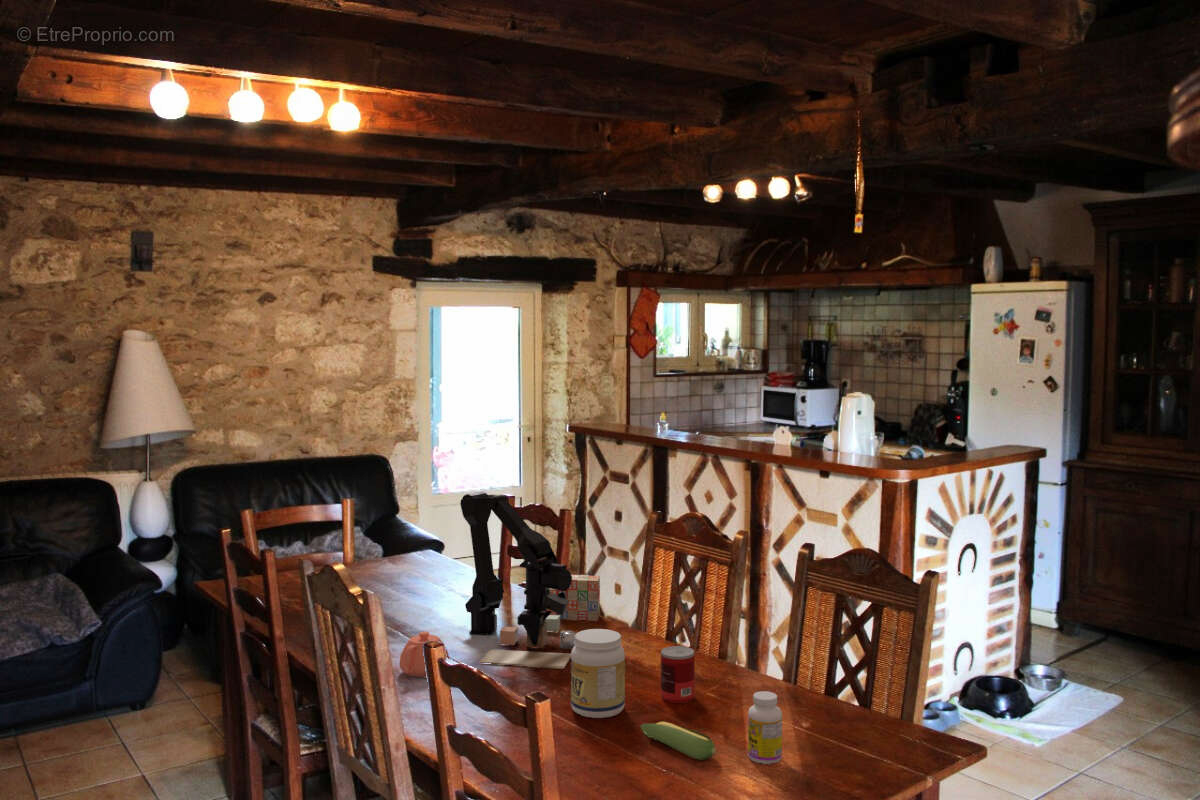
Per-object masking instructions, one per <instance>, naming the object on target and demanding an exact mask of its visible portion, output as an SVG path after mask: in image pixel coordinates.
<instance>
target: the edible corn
mask: <svg viewBox="0 0 1200 800" xmlns="http://www.w3.org/2000/svg"><path fill="white" fill-rule="evenodd" d="M639 727H640V728H641V731H642V732H643V734H645V735H646V736H647V737H648V738H650V737H652V738H655V739H654V741H658V740H659V741H658V742H660V743H662V744H664V745H666V746H668V747H670V748H672V749H673V750H675V751H677V752H679V751H680V752H679V753H681V752H682V753H681V754H683V753H684V754H683V755H685V754H686V755H685V756H687V755H688V756H687V757H689V756H690V757H689V758H691V757H693V758H692V759H694V758H695V759H694V760H696V759H699V760H698V761H705V760H708V759H710V758H712V757H713V756H714V755H715V754H716V753H717V749H716V745H715V744H714V742H713V740H712V739H711V738H710V737H709V736H708V735H706V734H704V733H701V732H699V731H696V730H693V729H690V728H686V727H684V726H680V725H676V724H674V723H671V722H666V721H659V722H657V723H643V724H641V725H640V726H639ZM652 738H651V739H652ZM656 739H657V740H656Z"/></svg>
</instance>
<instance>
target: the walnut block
mask: <svg viewBox="0 0 1200 800" xmlns="http://www.w3.org/2000/svg"><path fill="white" fill-rule="evenodd" d="M547 639H548V633H547V622H544V623H543V624H542V625H541V626H540V628H539V635H538V641H537V645H533V644H532V642H531V640H530V638H529V636H528V634H527V633H526V648H527V647H539V648H543V647H544V646H545V644H546V643H548V640H547ZM546 645H547V644H546ZM545 647H546V646H545ZM545 647H544V648H545ZM544 648H543V649H544Z"/></svg>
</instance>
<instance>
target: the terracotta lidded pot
mask: <svg viewBox="0 0 1200 800" xmlns="http://www.w3.org/2000/svg"><path fill="white" fill-rule="evenodd" d="M418 634H419V635H417V634H416V635H414V636H412V637H410V638H408V641H407V642H406V644H405V646H404V647H403V649H402V651H401V653H400V658H399V668H400V669H401V670H402V671H403V672H404V673H405V674H406V676H409V675H410V676H411V677H418V678H423V679H427V678H426V671H425V662H424V656H423V644H424V643H425V642H427V641H439V642H441V643H443V641H442V640H441V638H440V637H439V636H438V635H435V634H430V632H429V631H421V632H419V633H418ZM443 644H444V643H443ZM445 648H446V654H447V658H448V659H449V660H450V655H449V652H448V649H447V647H446V646H445ZM410 676H409V677H410ZM424 677H425V678H424Z"/></svg>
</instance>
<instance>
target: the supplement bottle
mask: <svg viewBox="0 0 1200 800" xmlns="http://www.w3.org/2000/svg"><path fill="white" fill-rule="evenodd" d="M752 701H753V705H751V706H750V707H749V709H748V711H747V713H748V715H747V718H748V723H747V724H748V725H747V727H748V728H747V756H748V758H749V759H750V760H751V762H753V761H754V763H756V762H757V763H756V764H759V763H762V764H761V765H765V764H768V765H772V764H771V763H775V764H777V763H779V762H781V759H782V756H783V712H782V709H781V708H780V707H779V706H777V704H778V695H777V694H776V693H775V692H771V691H766V690H763V691H761V690H760V691H755V692H754V693H753V697H752Z"/></svg>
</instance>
